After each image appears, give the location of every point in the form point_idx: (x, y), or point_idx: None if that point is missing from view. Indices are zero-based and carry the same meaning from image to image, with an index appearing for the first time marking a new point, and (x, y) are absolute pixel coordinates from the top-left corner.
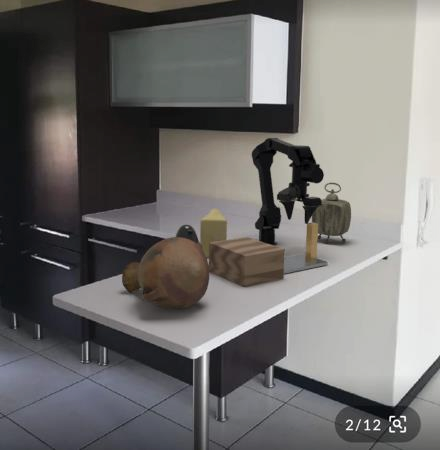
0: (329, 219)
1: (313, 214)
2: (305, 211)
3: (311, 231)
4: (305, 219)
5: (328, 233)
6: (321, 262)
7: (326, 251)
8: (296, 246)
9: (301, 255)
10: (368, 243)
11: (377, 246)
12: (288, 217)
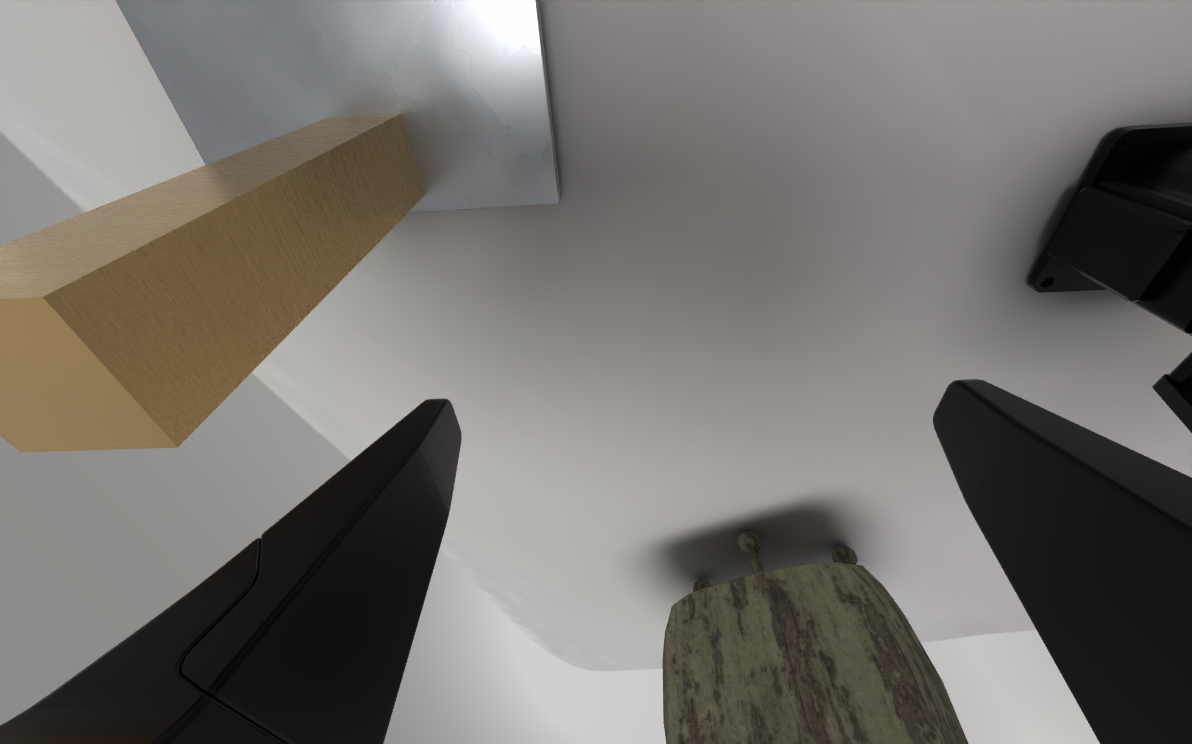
0: (760, 694)
1: (921, 705)
2: (168, 672)
3: (57, 232)
4: (372, 455)
5: (737, 583)
6: (217, 155)
7: (610, 435)
8: (842, 364)
9: (509, 150)
10: (624, 624)
11: (565, 620)
12: (988, 403)
